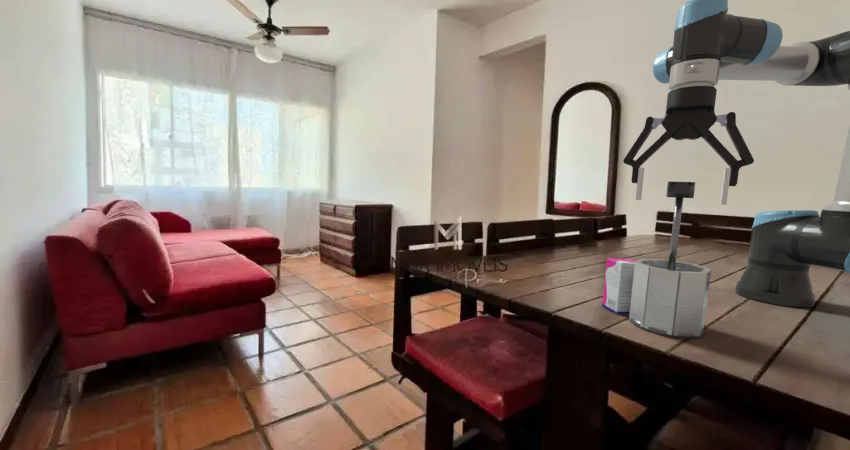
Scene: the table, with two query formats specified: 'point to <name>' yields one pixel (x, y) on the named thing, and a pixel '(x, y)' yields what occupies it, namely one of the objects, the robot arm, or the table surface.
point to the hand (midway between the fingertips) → (678, 202)
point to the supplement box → (618, 285)
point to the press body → (669, 298)
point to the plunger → (677, 214)
